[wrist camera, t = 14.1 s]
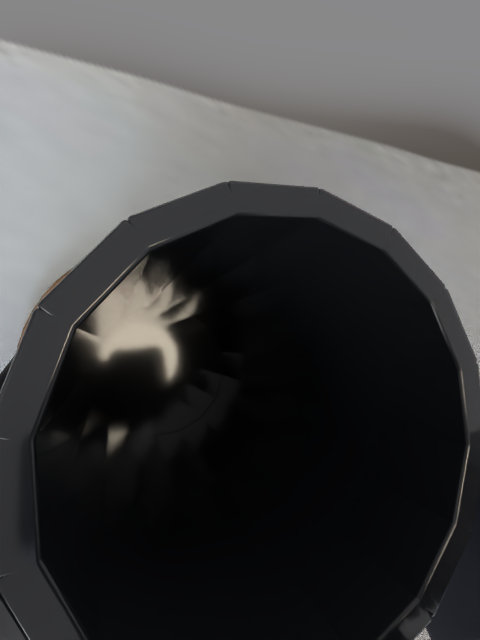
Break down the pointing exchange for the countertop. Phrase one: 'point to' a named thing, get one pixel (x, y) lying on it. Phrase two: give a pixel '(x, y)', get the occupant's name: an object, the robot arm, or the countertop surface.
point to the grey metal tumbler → (239, 430)
